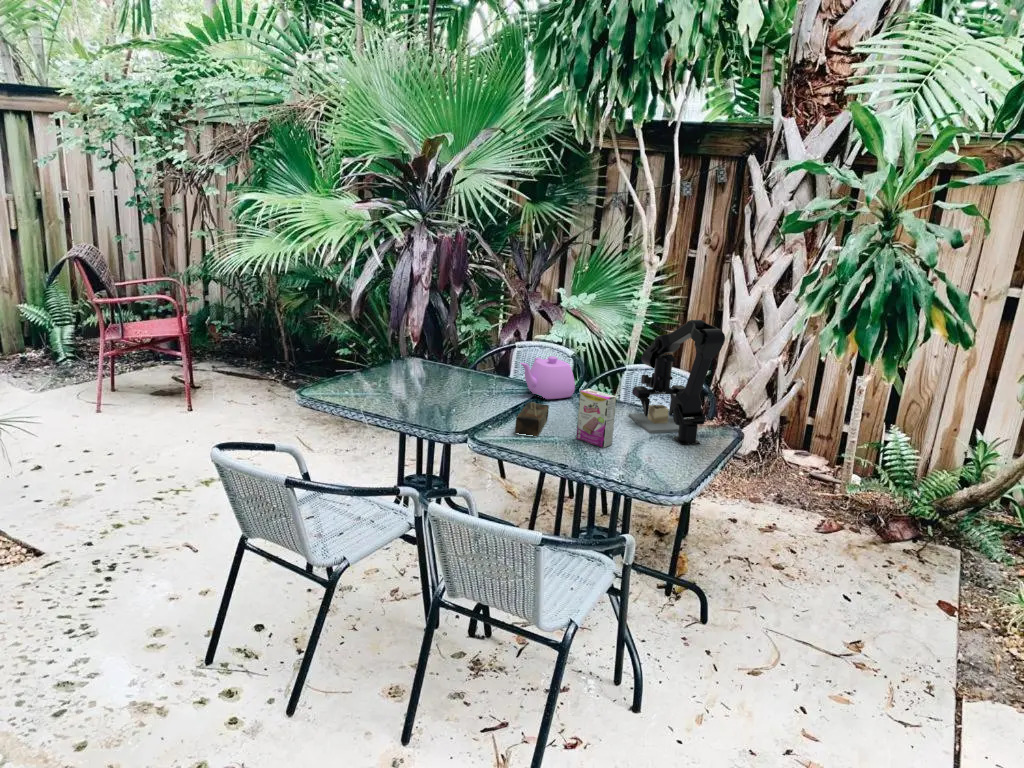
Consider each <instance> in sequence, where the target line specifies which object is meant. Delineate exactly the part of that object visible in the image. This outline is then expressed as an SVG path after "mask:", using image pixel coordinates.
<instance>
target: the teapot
mask: <svg viewBox="0 0 1024 768" xmlns="http://www.w3.org/2000/svg"><path fill="white" fill-rule="evenodd" d="M519 365H521V366H522V367H523V369H524V370H523V371H524V380H525V382H526V384H527V385H526V386H527V387H528V390H529V392H530V391H531V392H532V393H531V392H530V393H531V394H533V393H534V394H538V395H541V396H542V397H543V399H544V398H545V399H544V400H556V399H565V398H570V397H572V396H573V394H574V392H575V390H576V382H575V377H574V373H573V370H572V367H571V365H570V364H569V363H568V362H566V361H564V360H561V359H558V356H556V355H555V356H553V355H551V356H547V358H541V357H536V358H534V363H533V364H532V365H531V367H530V365H529V364H528V363H526V362H519ZM534 394H533V395H534ZM542 397H541V398H542Z"/></svg>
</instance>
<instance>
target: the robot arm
mask: <svg viewBox="0 0 1024 768" xmlns="http://www.w3.org/2000/svg"><path fill="white" fill-rule="evenodd" d="M689 339H691V340H692V341H694V348H695V350H696V355H695V356H694V357H695V358H694V360H693V362H692V363H693V364H692V366H691V370H690V373H689V376H688V379H687V382H686V383H685V384H686V385H685V386H684V385H682V384H680V385H679V384H677V385H672V386H671V381H672V380H673V376H672V372H673V371H672V368H673V363H676V362H677V359H676V358H675V357H674V355H673V354H672V353H676V352H677V351H678V350H679V348H680V347H681V344H683V343H684V342H686V341H688V340H689ZM725 341H726V336H725V333H724V331H723V330H722V329H720V328H718V327H717V326H714V325H712V324H710V323H707V322H706V321H705V320H702V319H689V320H687V322H686V323H685V324H683V325H682V326H680V327H678V328H677V329H675V330H673V331H672V332H669V333H666V334H660V335H657V336H656V337H654V340H653V342H652V344H651V345H650V346H647V347H646V349H645V350H644V351H643V352H642V354H641V355H640V356H641V357H640V360H641V362H642V364H644V365H646V366H647V367H650V368H652V369H654V370H653V372H652V374H651V376H649V374H641V379H640V380H641V381H640V382H641V384H642V385H643V386H642V385H641V386H636V385H635V386H633V389H632V392H631V394H632V395H633V396H635V397H636V398H637V399H639V401H640V403H641V405H642V410H643V413H644V414H645V416H647V415H648V413H649V405H650V402H651V399H650V396H651V395H670V396H669V397H670V405H669V408H668V409H669V412H668V415H669V416H673V417H672V418H673V419H674V422H675V424H676V425H679V431H678V432H677V436H673V439H674V440H675V441H676V442H677V443H679V444H680V445H700V444H701V442H700V441H699V440H698V439H697V434H698V426H699V425H702V426H703V425H704V424H705V421H706V417H705V414H704V412H703V410H702V409H703V408H702V405H703V402H702V399H701V396H700V395H701V393H702V389H703V387H704V383H705V380H706V377H707V375H708V371H709V369H710V366H711V363H712V360H713V358H714V357H715V356H716V355H717V354H719V353H720V351H721V350H722V348H723V346H724V344H725ZM644 385H645V386H644Z"/></svg>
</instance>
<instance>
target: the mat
mask: <svg viewBox="0 0 1024 768" xmlns="http://www.w3.org/2000/svg"><path fill="white" fill-rule="evenodd" d="M628 418H630V419H631V420H632V421H633V422H635V423H636V424H637V425H639V426H640V427H641V428H642V429H644V430H645V431H646V432H648V433H649V434H663V433H678V431H679V425H676V424H675V422H674V418H673V417H672V415H669V414H668V421H667V423H656V424H654V423H653V422H651V421H650V420H649V419H648V415H647V416H645V414H644V412H638V413H637V412H636V413H628Z"/></svg>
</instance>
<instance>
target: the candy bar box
mask: <svg viewBox="0 0 1024 768" xmlns="http://www.w3.org/2000/svg"><path fill="white" fill-rule="evenodd" d="M578 398H579V399H578V413H577V426H576V436H575V437H576V438H575V439H577V440H579V441H582V442H584V441H585V443H587V442H588V444H590V443H591V444H590V445H594V446H596V447H599V448H602V447H603V448H602V449H605V448H608V447H610V446H612V445H613V437H614V436H613V435H614V428H615V427H614V426H615V425H614V424H615V416H616V415H615V414H616V404H617V396H616V395H612V394H609V393H607V392H606V393H605V392H602V391H599V390H596V389H592V388H585V389H581V390H579V397H578ZM607 446H608V447H607ZM604 447H605V448H604Z"/></svg>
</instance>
